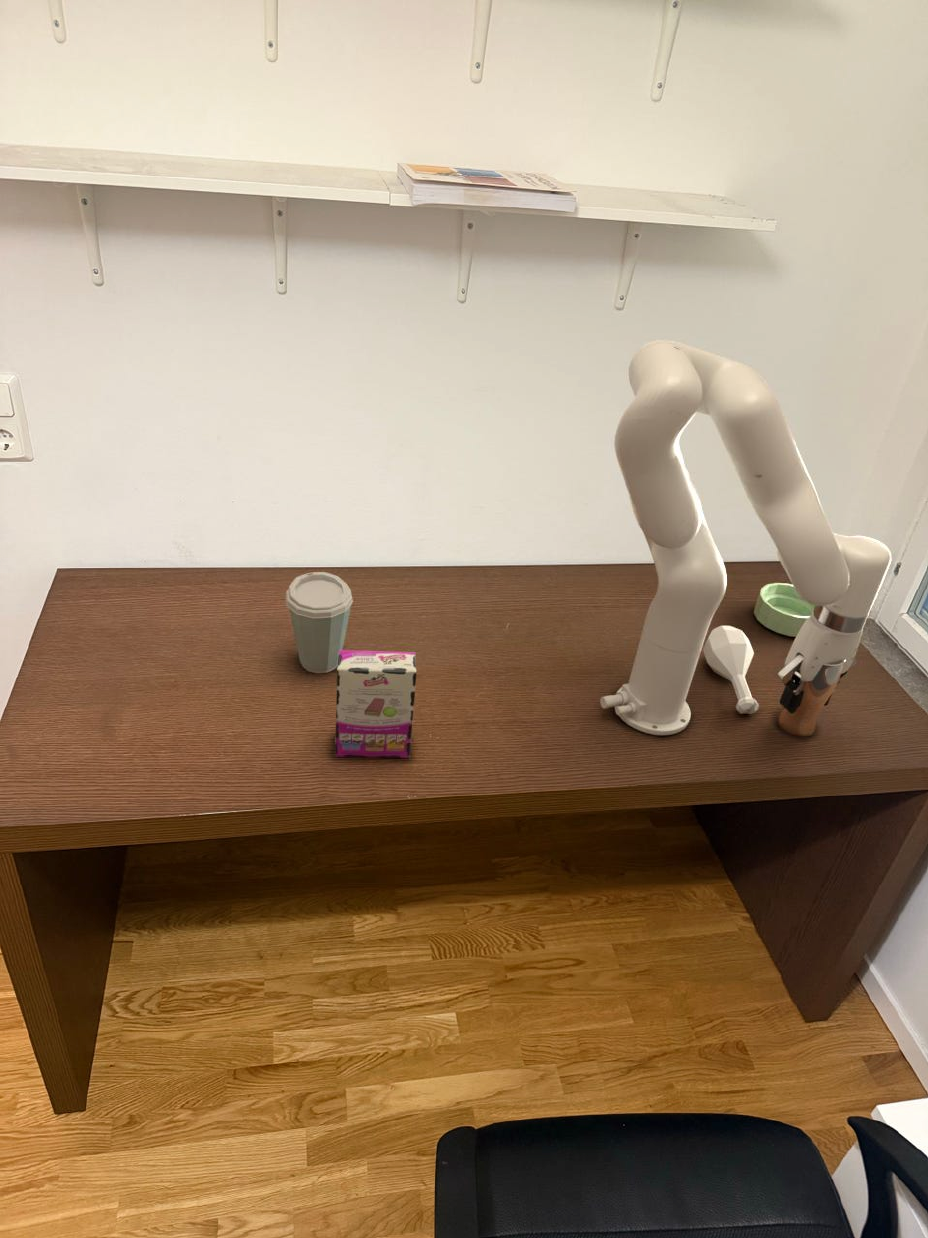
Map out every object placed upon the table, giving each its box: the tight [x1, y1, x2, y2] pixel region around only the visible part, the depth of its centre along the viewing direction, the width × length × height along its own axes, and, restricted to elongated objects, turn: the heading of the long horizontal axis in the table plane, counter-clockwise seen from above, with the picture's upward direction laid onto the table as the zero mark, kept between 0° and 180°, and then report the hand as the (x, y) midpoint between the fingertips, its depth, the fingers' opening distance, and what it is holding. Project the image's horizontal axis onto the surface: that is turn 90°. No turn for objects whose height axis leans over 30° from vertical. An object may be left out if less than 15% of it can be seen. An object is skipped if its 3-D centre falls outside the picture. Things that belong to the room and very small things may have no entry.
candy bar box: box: [334, 649, 417, 759], centre depth 132 cm, size 11×5×16 cm, turn 95°
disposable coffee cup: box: [285, 571, 354, 675], centre depth 147 cm, size 11×11×15 cm
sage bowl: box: [753, 582, 815, 638], centre depth 177 cm, size 12×12×5 cm
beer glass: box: [777, 659, 845, 737], centre depth 148 cm, size 7×7×15 cm
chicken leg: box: [702, 625, 760, 715], centre depth 157 cm, size 8×18×8 cm, turn 5°
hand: (803, 703), depth 149 cm, fingers closed on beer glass, 6 cm apart
